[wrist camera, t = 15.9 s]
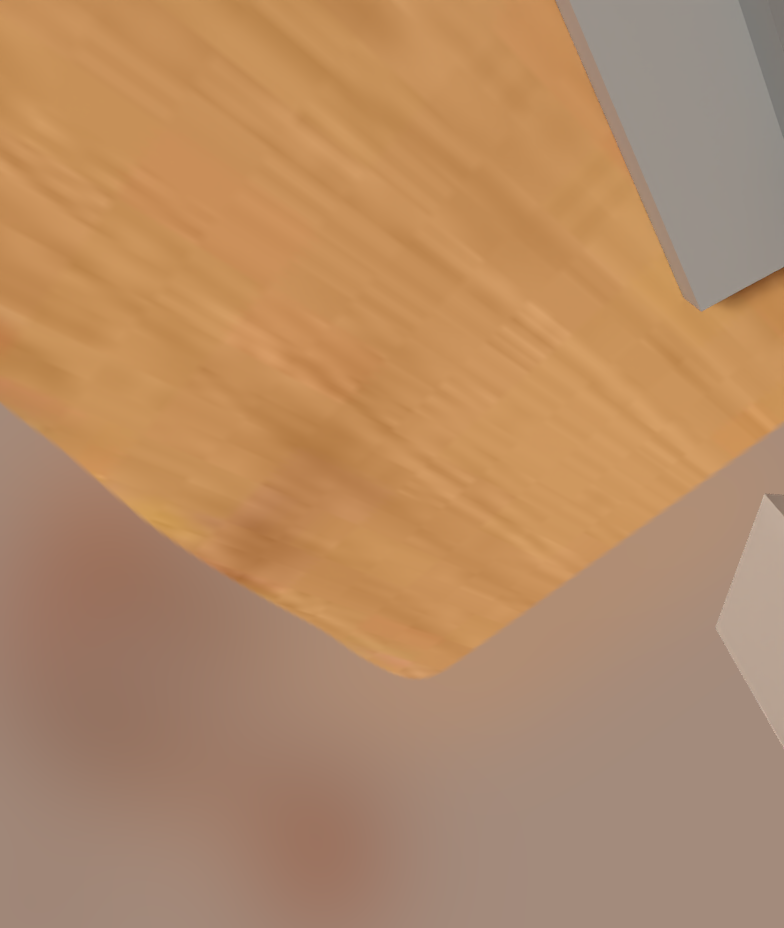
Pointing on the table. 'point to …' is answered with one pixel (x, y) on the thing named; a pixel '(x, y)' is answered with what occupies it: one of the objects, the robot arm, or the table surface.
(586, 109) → the table surface
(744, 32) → the dock
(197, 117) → the table surface
